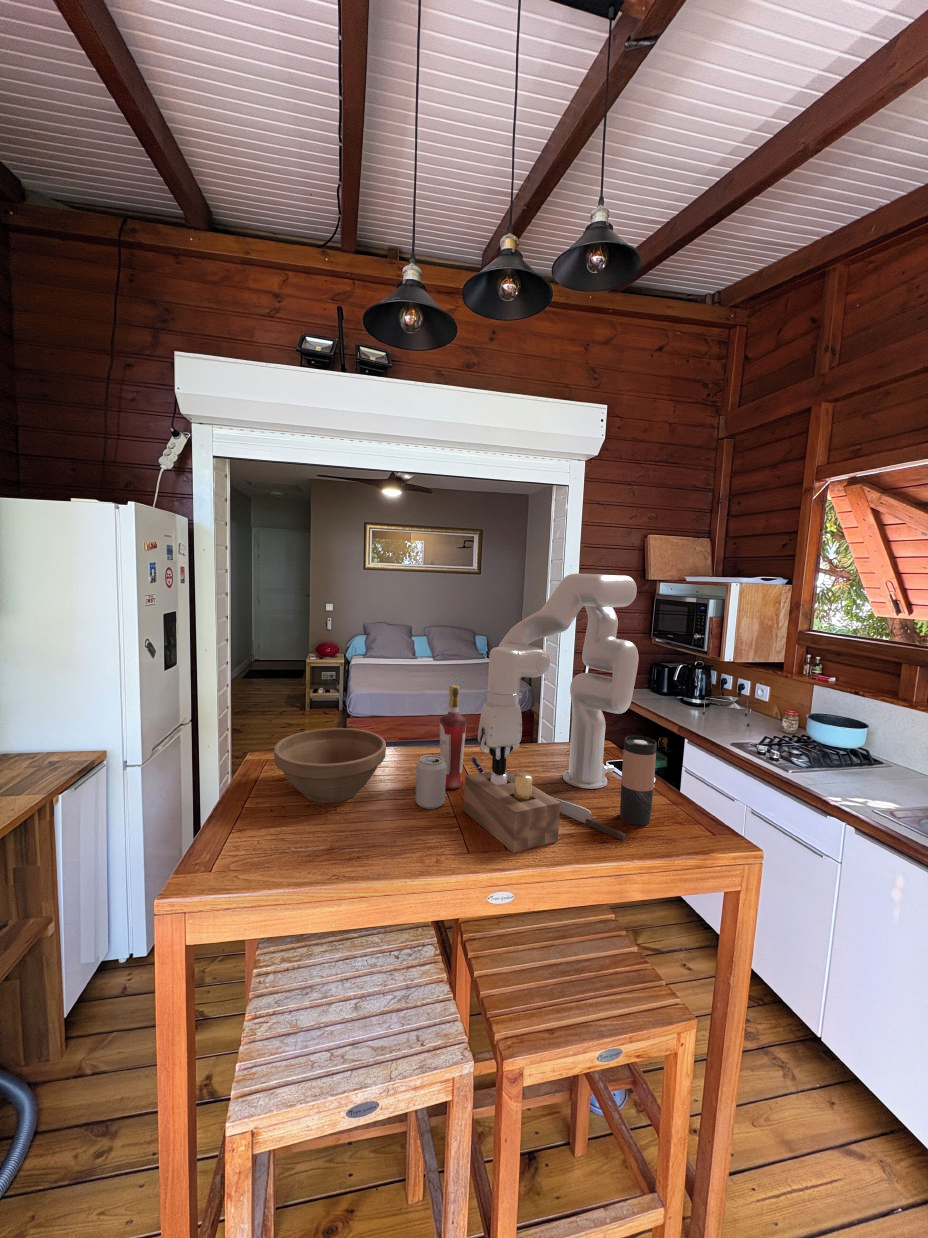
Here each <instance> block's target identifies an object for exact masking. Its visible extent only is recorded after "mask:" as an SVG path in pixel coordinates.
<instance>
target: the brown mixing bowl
mask: <svg viewBox="0 0 928 1238" xmlns="http://www.w3.org/2000/svg"><path fill="white" fill-rule="evenodd" d="M386 744H387V742H386V740H385V739H384V738H383V737H382V736H381V735H379V734H377V733H374V732H371V731H367V730H363V729H356V728H347V727H346V728H344V727H343V728H342V727H336V728H335V727H331V728H330V727H329V728H320V729H319V728H317V729H312V730H306V731H302V732H301V731H300V732H298V733H294V734H291V735H289V736H288V735H287V737H284V738H282V739H281V740H279V741H278V742H277V743H276V744H275V746H274V748H273V749H274V750H273V759H274V765H275V766H276V768H277V769H278V770H280V771H281V772H282V773H283V775H284V776H285V778H286V779H287V780H288V782H290V784H291V785H292V786H293V787H294V788H295V789H296V790H298V791H299V792H300V793H301V794H302V795H303V797H305V798H306V799H308V800H310V801H312V802H315V803H325V804H327V803H338V802H343V801H346V800H349V799H350V798H353V797H354V796H355V795H357V794H358V792H360V790H361V789H362V788H363V787H364V786H365V785H366V784H367V783H368V782H369V781H370V780H371V778H372V776H373V775H375V772H376V771H377V768H378V767H379V766H380V765H381V764H382V763H383V762H384V761H385V759H386V751H387V745H386Z"/></svg>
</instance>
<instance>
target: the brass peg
mask: <svg viewBox="0 0 928 1238" xmlns="http://www.w3.org/2000/svg"><path fill="white" fill-rule="evenodd" d="M514 774H515V782H514V799H516V800H517V801H519V802H524V801H529V800H531V797H532V785H533V778H534V777H533V774H532V773H530V772H526V771H519V772H516V773H514Z"/></svg>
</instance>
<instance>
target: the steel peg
mask: <svg viewBox="0 0 928 1238" xmlns="http://www.w3.org/2000/svg"><path fill="white" fill-rule="evenodd" d="M491 771H492V770H491ZM491 783H493V784H494V785H496V786H497V785H503V784H507V772H506V771H505V775H502V774H501V775H497V774H496V773H494V772H493V771H492V772H491Z"/></svg>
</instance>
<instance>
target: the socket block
mask: <svg viewBox="0 0 928 1238" xmlns="http://www.w3.org/2000/svg"><path fill="white" fill-rule="evenodd" d="M505 771H506V772H507V784H503V785H497V786H496V785H494V784H493V783H491V772H492V770H491V771H486V772H485V771H484V772H480V773H479V772H478V773H474V774H468V775H465V778H464V779H465V780H464V798H463V799H464V800H463V801H464V802H463V811H464V812H465V813H466V814H467V815H469V817H471V819H473V820H474V821H475V822H477V823H478V824H479V825H480V826H481V827H482V828H484V829H485V830H486V831H487V832H488V833H490V834H491V835H492V836H493V837H494V838H496V839H497V841H499V842H500V843H501V844H502V845H503V846H505V847H506V848H507V849H508V850H509V851H511V852H512V853H513V854H515V853H518V852H522V851H526V850H530V849H533V848H534V849H535V848H537V847H540V846H545V845H548V844H552V843H556V842H559V829H560V815H561V814H560V813H561V812H560V802H559V801H557V800H555V799H554V798H555V797H554V798H552V797H553V796H552V797H550V796H551V795H548V794H547V793H545V792H544V791H542V790H541V789H539V788H537V787H536V786H534V785H533V784H532V797H531V800H529V801H524V802H519V801H517V800H516V799H514V782H515V774H516V773H513V772H512V771H511V770H509V769H507V768H506V769H505Z"/></svg>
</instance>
